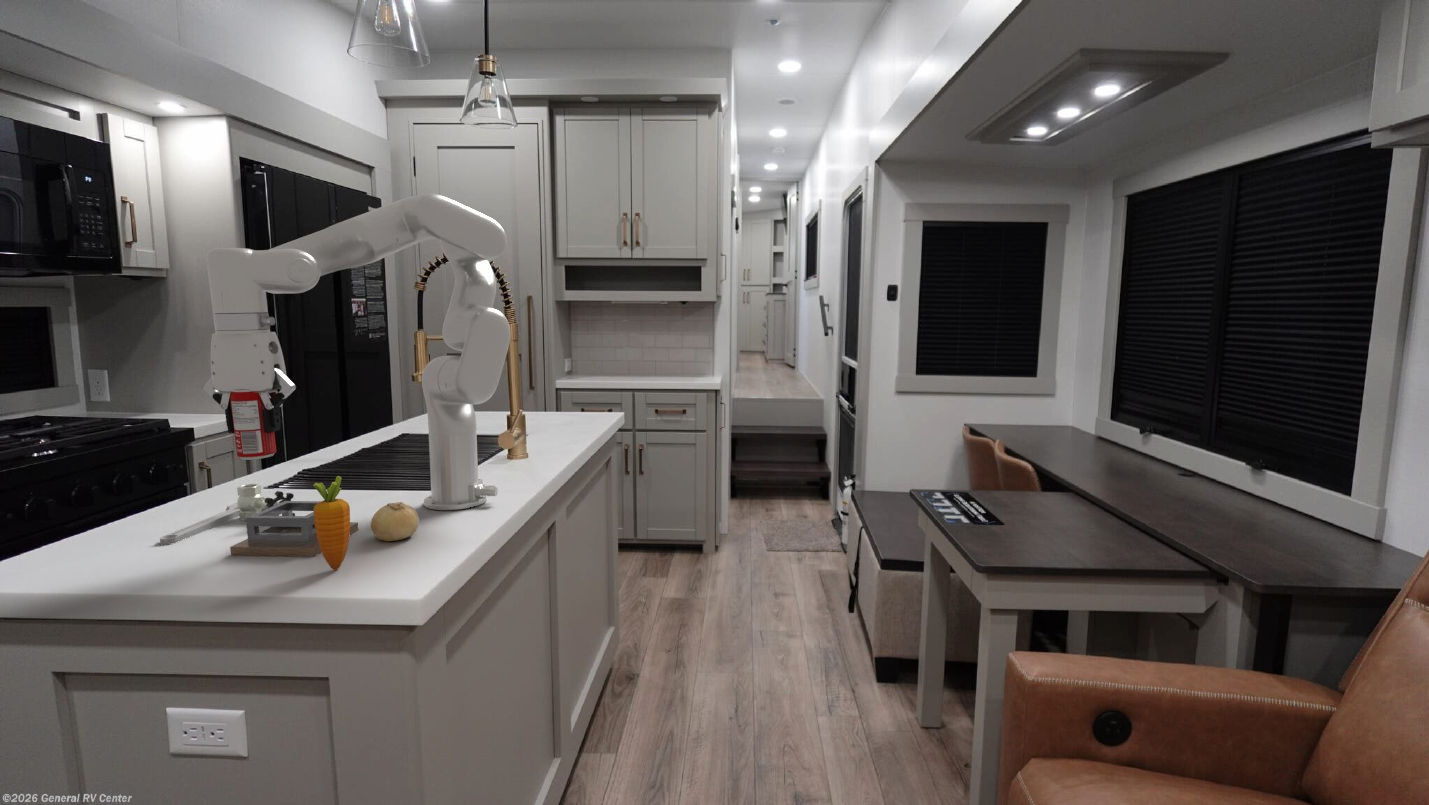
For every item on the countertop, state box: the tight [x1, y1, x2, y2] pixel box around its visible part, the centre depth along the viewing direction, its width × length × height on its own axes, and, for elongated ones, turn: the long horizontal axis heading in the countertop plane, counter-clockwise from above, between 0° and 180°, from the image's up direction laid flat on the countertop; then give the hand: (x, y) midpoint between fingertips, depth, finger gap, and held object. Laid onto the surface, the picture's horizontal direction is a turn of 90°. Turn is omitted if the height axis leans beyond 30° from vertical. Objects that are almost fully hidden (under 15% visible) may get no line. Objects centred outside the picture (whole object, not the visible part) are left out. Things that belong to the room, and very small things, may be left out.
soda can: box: [230, 390, 277, 461], centre depth 115 cm, size 6×6×12 cm
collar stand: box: [229, 500, 359, 557], centre depth 120 cm, size 14×14×6 cm
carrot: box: [312, 475, 351, 571], centre depth 106 cm, size 5×5×15 cm
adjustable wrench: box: [159, 502, 241, 546], centre depth 131 cm, size 25×6×2 cm, turn 175°
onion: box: [370, 501, 420, 542], centre depth 123 cm, size 8×8×7 cm
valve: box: [236, 483, 296, 521], centre depth 132 cm, size 7×7×12 cm
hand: (254, 430), depth 115 cm, fingers closed on soda can, 5 cm apart
